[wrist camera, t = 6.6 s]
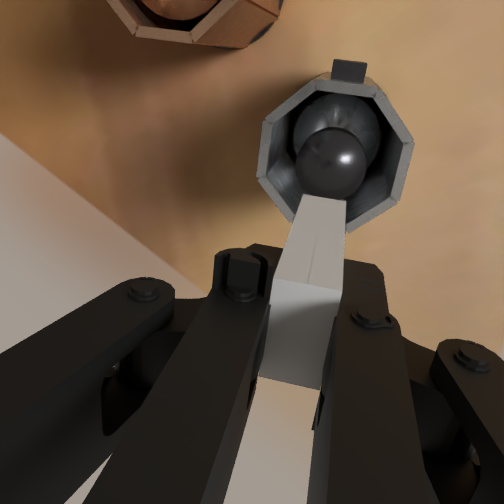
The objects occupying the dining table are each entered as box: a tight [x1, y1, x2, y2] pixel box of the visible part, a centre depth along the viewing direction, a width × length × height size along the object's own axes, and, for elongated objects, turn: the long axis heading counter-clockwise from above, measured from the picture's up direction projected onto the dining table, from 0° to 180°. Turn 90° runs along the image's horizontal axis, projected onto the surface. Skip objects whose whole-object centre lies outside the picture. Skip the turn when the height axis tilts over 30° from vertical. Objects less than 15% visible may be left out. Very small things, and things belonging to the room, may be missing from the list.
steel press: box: [256, 59, 415, 234], centre depth 33 cm, size 9×10×14 cm
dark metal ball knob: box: [294, 93, 380, 200], centre depth 30 cm, size 7×7×11 cm
